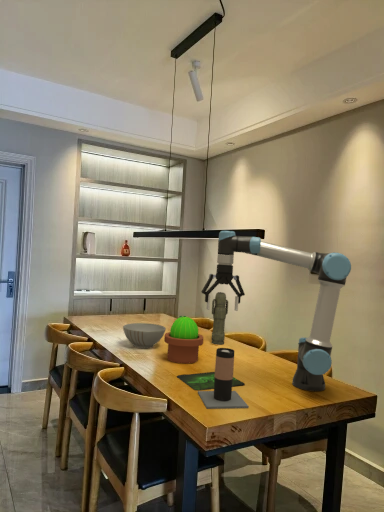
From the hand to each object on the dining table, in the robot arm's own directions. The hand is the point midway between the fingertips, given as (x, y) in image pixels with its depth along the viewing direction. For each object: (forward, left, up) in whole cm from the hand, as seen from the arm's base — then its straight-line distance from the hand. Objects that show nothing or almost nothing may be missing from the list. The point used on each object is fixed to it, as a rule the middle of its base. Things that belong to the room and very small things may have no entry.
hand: (222, 310), depth 179 cm
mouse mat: (+2, -6, -35) cm, 36 cm away
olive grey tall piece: (-23, -84, -35) cm, 94 cm away
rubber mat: (+3, +19, -35) cm, 40 cm away
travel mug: (+3, +19, -34) cm, 39 cm away
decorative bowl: (+29, -72, -35) cm, 85 cm away
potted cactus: (+9, -42, -35) cm, 55 cm away
